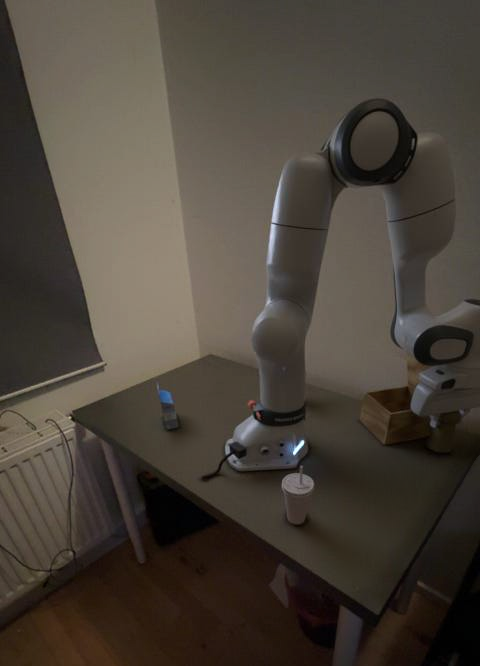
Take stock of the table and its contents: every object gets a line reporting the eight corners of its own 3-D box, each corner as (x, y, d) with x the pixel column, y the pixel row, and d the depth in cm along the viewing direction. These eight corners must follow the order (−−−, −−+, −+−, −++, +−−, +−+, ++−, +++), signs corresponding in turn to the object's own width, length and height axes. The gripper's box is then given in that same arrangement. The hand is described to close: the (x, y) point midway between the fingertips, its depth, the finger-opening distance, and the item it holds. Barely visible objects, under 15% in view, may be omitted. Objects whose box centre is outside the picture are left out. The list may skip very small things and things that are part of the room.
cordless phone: (179, 427, 107) (172, 391, 100) (165, 430, 106) (158, 394, 99) (175, 414, 114) (169, 380, 107) (162, 416, 113) (156, 382, 106)
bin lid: (439, 353, 83) (442, 352, 83) (405, 337, 94) (408, 336, 94) (438, 405, 91) (441, 404, 91) (407, 384, 102) (410, 383, 102)
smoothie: (304, 534, 70) (308, 480, 62) (275, 522, 73) (276, 470, 65) (316, 513, 74) (321, 461, 67) (288, 503, 77) (290, 452, 70)
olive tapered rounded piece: (425, 437, 94) (435, 401, 88) (450, 441, 92) (463, 405, 86) (426, 450, 89) (437, 413, 84) (453, 454, 87) (466, 417, 82)
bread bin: (384, 444, 94) (390, 414, 89) (359, 420, 105) (364, 392, 100) (431, 436, 96) (439, 406, 91) (402, 413, 107) (408, 385, 102)
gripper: (488, 363, 84) (471, 412, 92) (413, 374, 81) (401, 424, 88) (511, 372, 79) (491, 424, 86) (431, 385, 76) (417, 437, 83)
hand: (445, 424), depth 87 cm, fingers closed on olive tapered rounded piece, 5 cm apart
